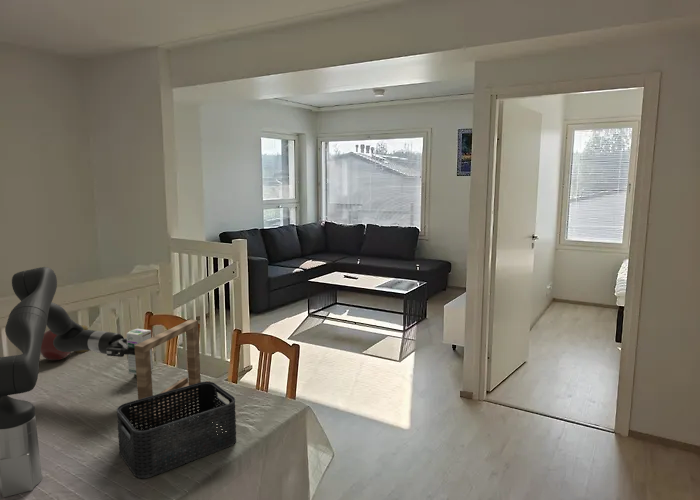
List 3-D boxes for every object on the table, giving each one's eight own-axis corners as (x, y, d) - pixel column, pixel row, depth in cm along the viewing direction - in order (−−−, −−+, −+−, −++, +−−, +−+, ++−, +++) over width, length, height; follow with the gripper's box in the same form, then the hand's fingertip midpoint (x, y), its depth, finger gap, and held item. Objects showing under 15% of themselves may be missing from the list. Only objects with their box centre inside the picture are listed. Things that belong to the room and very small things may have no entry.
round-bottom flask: (74, 362, 199) (70, 315, 196) (37, 367, 193) (31, 319, 190) (77, 351, 211) (73, 307, 207) (41, 356, 205) (36, 310, 202)
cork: (83, 353, 209) (81, 328, 207) (71, 352, 210) (69, 327, 208) (93, 348, 214) (91, 324, 213) (82, 347, 216) (79, 323, 214)
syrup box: (127, 373, 165) (125, 333, 162) (140, 367, 170) (137, 327, 168) (141, 376, 163) (139, 335, 161) (153, 369, 169) (151, 329, 166)
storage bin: (211, 417, 155) (209, 378, 153) (241, 443, 141) (239, 399, 138) (116, 451, 136) (112, 406, 134) (138, 484, 122) (135, 434, 120)
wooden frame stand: (158, 425, 150) (153, 348, 146) (129, 420, 153) (123, 344, 149) (210, 387, 176) (207, 321, 172) (184, 383, 179) (181, 318, 175)
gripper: (88, 339, 162) (129, 345, 157) (120, 326, 176) (159, 331, 171) (90, 360, 163) (131, 367, 158) (121, 345, 177) (160, 351, 172)
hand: (145, 348), depth 165 cm, fingers closed on syrup box, 6 cm apart
